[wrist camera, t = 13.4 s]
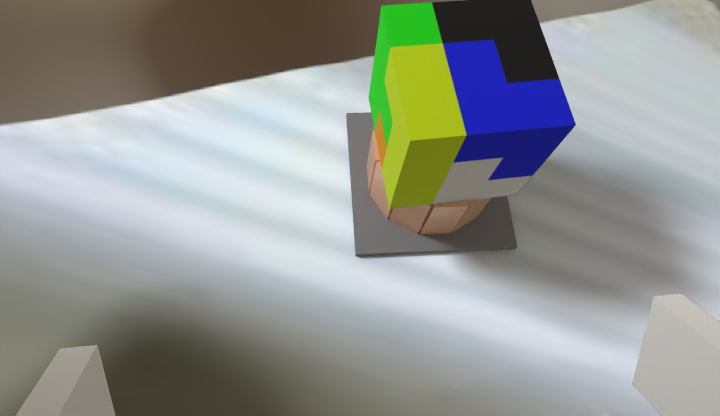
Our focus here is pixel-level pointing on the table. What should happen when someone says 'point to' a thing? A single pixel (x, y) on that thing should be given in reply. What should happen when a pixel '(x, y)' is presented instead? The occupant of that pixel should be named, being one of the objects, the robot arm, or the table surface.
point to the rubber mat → (391, 238)
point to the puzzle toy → (463, 100)
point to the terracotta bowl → (423, 216)
